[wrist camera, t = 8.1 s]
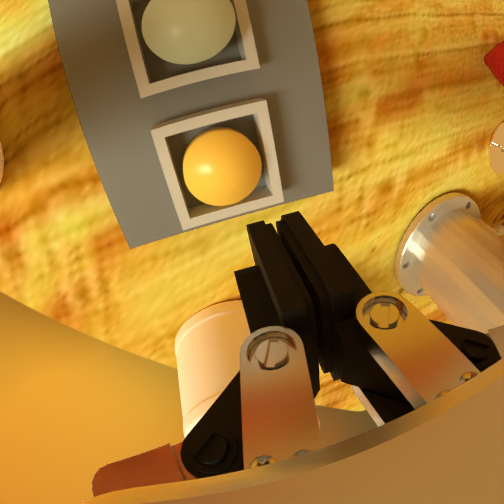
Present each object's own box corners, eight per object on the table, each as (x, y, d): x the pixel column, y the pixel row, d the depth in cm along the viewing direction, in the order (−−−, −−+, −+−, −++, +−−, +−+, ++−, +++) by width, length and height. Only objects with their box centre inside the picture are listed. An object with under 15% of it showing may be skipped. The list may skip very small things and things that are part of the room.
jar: (159, 328, 28) (172, 485, 16) (253, 283, 28) (313, 442, 16) (216, 384, 35) (244, 504, 23) (293, 351, 35) (342, 471, 22)
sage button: (220, -18, 11) (225, -26, 10) (237, 53, 14) (243, 52, 13) (137, 2, 11) (133, -5, 10) (155, 74, 14) (152, 75, 12)
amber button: (247, 118, 17) (253, 123, 16) (260, 184, 19) (267, 194, 18) (173, 138, 17) (173, 144, 15) (193, 203, 19) (195, 214, 18)
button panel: (257, -116, 10) (275, -143, 6) (316, 175, 24) (343, 199, 20) (52, -68, 9) (30, -89, 5) (134, 227, 22) (128, 260, 19)
